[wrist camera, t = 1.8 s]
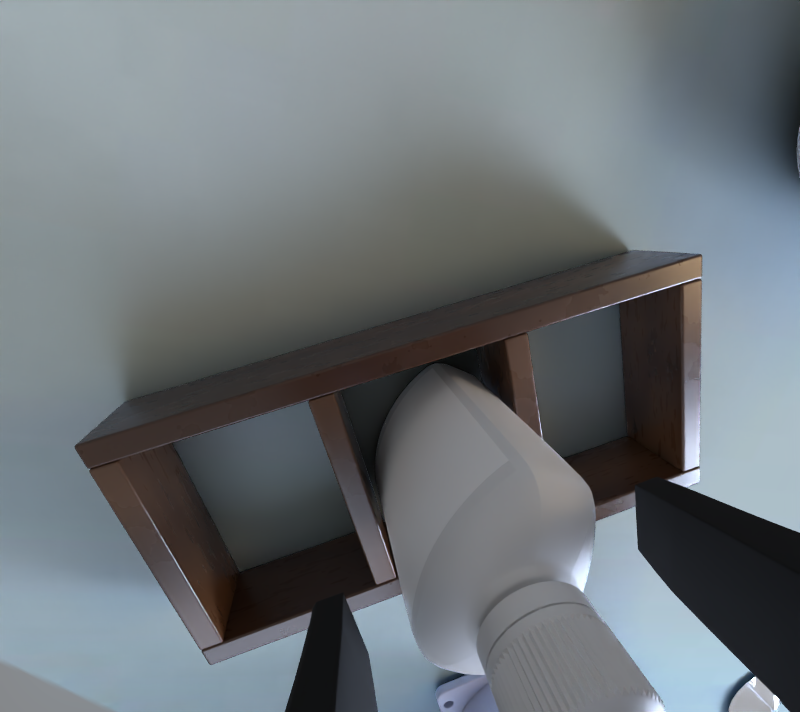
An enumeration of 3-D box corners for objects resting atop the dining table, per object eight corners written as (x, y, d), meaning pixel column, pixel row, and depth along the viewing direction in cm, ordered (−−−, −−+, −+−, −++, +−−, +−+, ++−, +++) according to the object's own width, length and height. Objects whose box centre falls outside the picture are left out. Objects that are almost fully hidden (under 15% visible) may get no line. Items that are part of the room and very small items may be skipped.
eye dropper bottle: (334, 431, 15) (378, 991, 4) (451, 343, 15) (838, 668, 4) (399, 501, 17) (562, 1048, 6) (506, 422, 17) (897, 819, 5)
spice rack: (642, 444, 18) (700, 483, 16) (228, 592, 16) (209, 666, 14) (633, 249, 15) (703, 253, 13) (123, 401, 13) (71, 446, 11)
